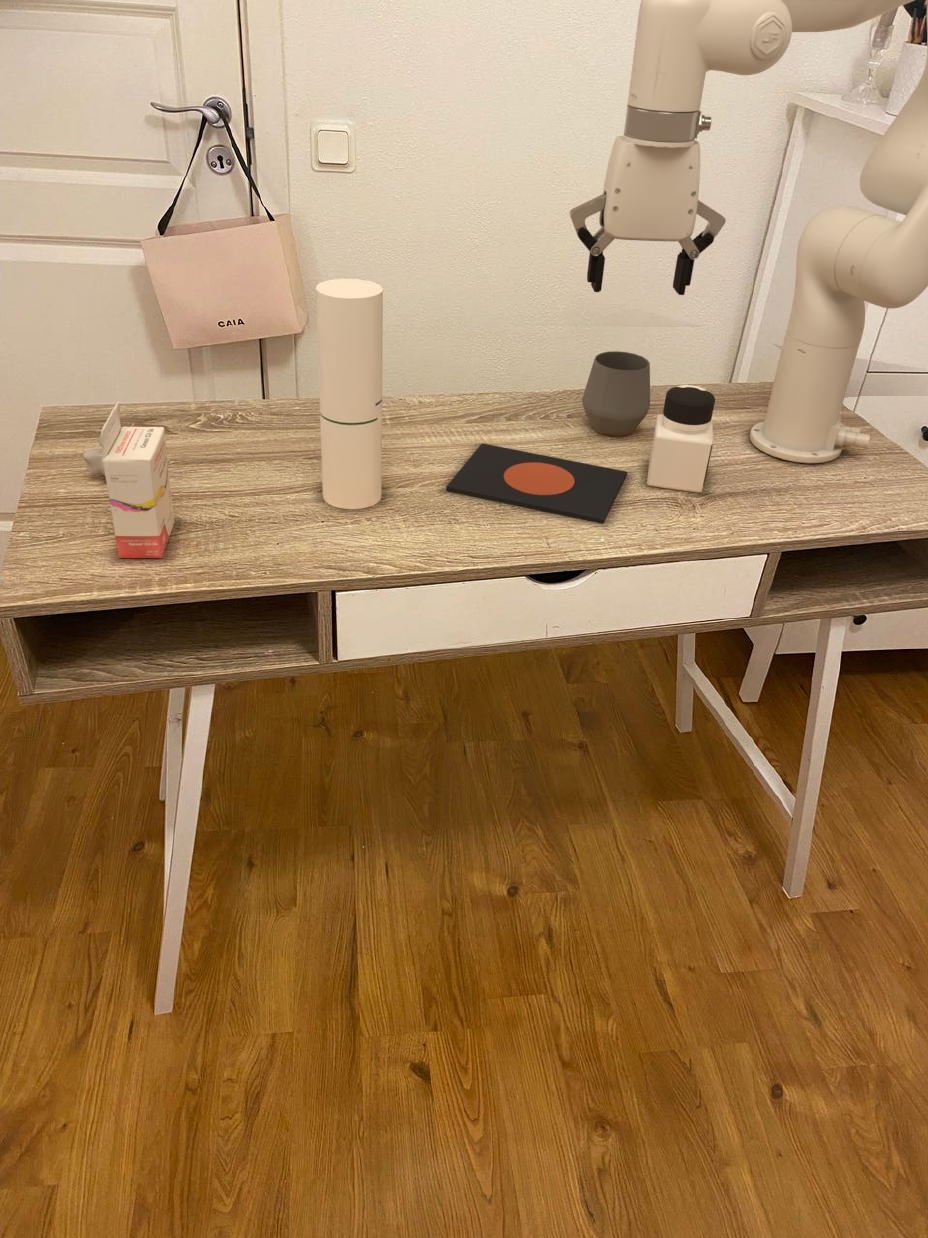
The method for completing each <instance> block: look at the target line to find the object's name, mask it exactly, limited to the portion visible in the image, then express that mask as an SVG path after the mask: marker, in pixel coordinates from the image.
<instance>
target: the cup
mask: <svg viewBox="0 0 928 1238" xmlns="http://www.w3.org/2000/svg"><path fill="white" fill-rule="evenodd" d="M581 402H582V407H583V411H584V413H585V415H586V417H587V420H588V423H589V426H590V428H591V429H593V430H594V431H595V432H597V433H599V434H602V435H606V436H609V437H610V436H612V437H623V436H628V435H630V434H632V433H633V432H635V431H636V430H637V428H638V427H639V426H640V425H641V423H642V422H643V421H644V419H645V418H646V417H647V416H648V413H649V410H650V407H651V364H650V361H649V360H648V359H647V358H645V357H644V356H642V355H640V354H636V353H633V352H628V351H618V350H615V351H614V350H613V351H612V350H611V351H604V352H600V353H598V354H596V355H595V357H594V359H593V362H592V366H591V369H590V372H589V375H588V378H587V383H586V385H585V389H584V392H583V395H582V401H581Z"/></svg>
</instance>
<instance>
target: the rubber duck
mask: <svg viewBox="0 0 928 1238" xmlns="http://www.w3.org/2000/svg"><path fill="white" fill-rule="evenodd" d="M113 426H114V422H113V423H111V428H110V430H109V434H110V432H111V430H112V429H113ZM98 439H99V440H98V444H99V446H100V447H102V438H101V433H100V435H99V438H98ZM82 458H83V460H84V461H85V462H86V470H87V472H89V473H92V474H96V473H101V474H102V475H103V476H104V477H105V471H104V465H103V453H102V448H101V449H100V450H98V449H89V450H86V451H85V452H84V453H83V454H82Z"/></svg>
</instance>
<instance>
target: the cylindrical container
mask: <svg viewBox="0 0 928 1238" xmlns="http://www.w3.org/2000/svg"><path fill="white" fill-rule="evenodd" d="M315 293H316V294H315V296H316V298H315V299H316V325H317V326H316V327H317V331H316V332H317V358H318V361H317V363H318V393H319V395H318V396H319V397H318V398H319V412H320V413H319V423H320V424H319V425H320V427H319V428H320V453H321V454H320V455H321V457H320V458H321V484H322V485H321V486H322V487H321V489H322V498H323V500H324V502H325V503H327V504H328V505H329V506H332V507H335V508H338V509H343V510H360V509H366V508H369V507H372V506H375V505H376V504H378V503H379V502H380V501H381V499H382V494H383V493H382V485H383V483H382V478H383V477H382V476H383V475H382V473H383V472H382V471H383V469H382V467H383V466H382V465H383V464H382V463H383V459H382V457H383V320H384V319H383V318H384V316H383V315H384V314H383V311H384V310H383V309H384V307H383V306H384V301H383V300H384V298H383V297H384V289H383V286H381V285H380V284H379V283H376V282H374V281H371V280H366V279H359V278H334V279H329V280H325V281H321V282H319V283H318V284H317V285H316V287H315Z"/></svg>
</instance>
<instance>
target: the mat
mask: <svg viewBox="0 0 928 1238" xmlns="http://www.w3.org/2000/svg"><path fill="white" fill-rule="evenodd" d="M627 476H628V471H626V470H621V469H615V468H610V467H605V466H600V465H594V464H589V463H585V462H580V461H575V460H569V459H565V458H559V457H553V456H549V455H544V454H538V453H535V452H534V453H533V452H528V451H523V450H517V449H514V448H508V447H503V446H498V445H492V444H487V443H480V445H479V446H478V447H477V449H476V450H475V451H474V452H473V453H472V455H471V456H470V457H469V458H468V460H467V461H465V463H464V464H463V465H462V467H461V468H460V469H459V470H458V472H457V473H456V474H455V475H454V477H453V478H452V479H451V480H450V481H449V483H447V485H446V486H445V491H446V492H450V493H455V494H459V495H460V494H461V495H466V496H470V497H474V498H479V499H484V500H489V501H493V502H498V503H502V504H503V503H504V504H508V505H513V506H517V507H522V508H527V509H531V510H536V511H542V512H546V513H550V514H555V515H559V516H565V517H571V518H574V519H579V520H584V521H588V522H594V523H598V524H604V522H605V521H606V518H607V517H608V514H609V512H610V511H611V509H612V506H613V505H614V502H615V500H616V498H617V496H618V494H619V492H620V491H621V488H622V486H623V484H624V482H625V480H626V479H627Z"/></svg>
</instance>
